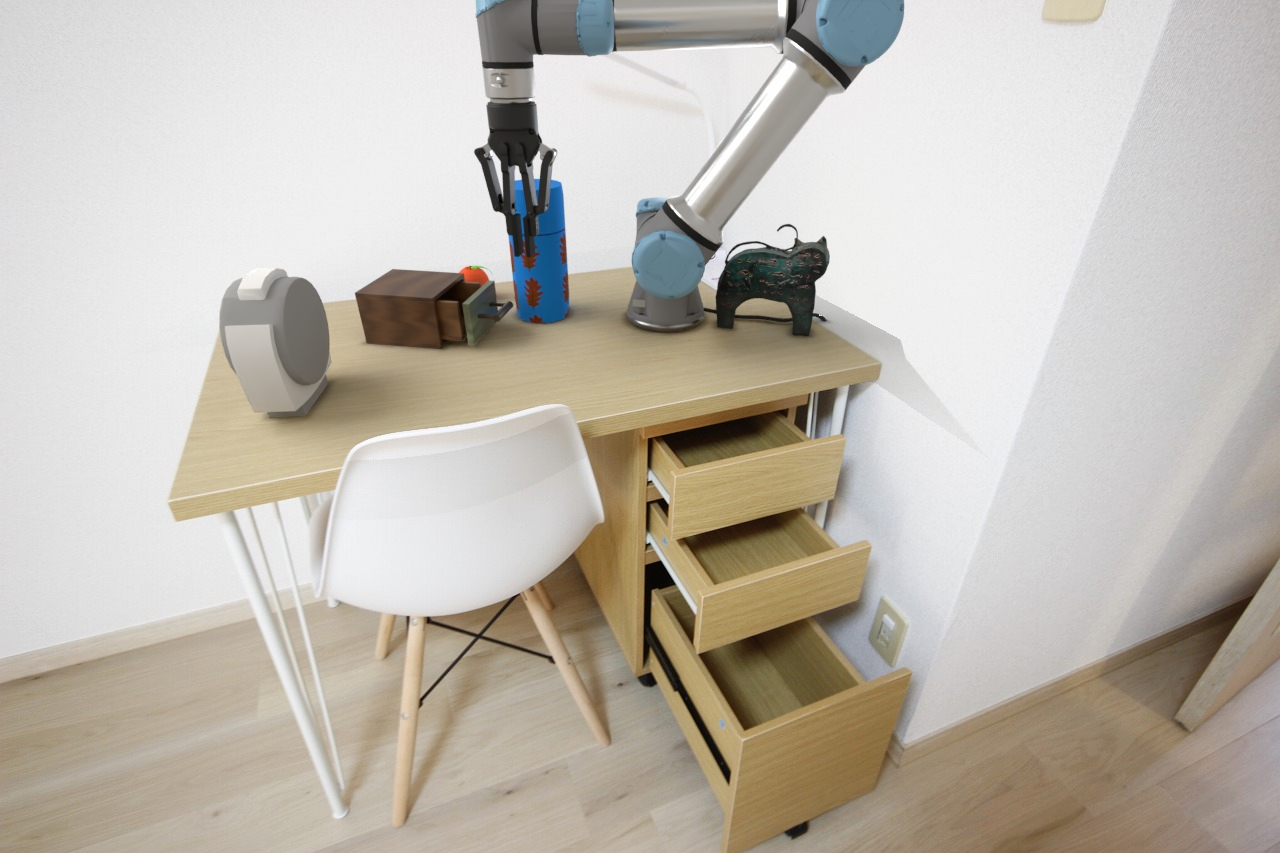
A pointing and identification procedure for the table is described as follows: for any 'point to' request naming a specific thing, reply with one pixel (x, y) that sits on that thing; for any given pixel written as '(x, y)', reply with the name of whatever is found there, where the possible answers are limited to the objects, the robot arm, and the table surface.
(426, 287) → the cabinet
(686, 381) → the table surface
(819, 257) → the ceramic cat
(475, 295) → the drawer
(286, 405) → the alarm clock
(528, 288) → the thermos
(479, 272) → the clementine
